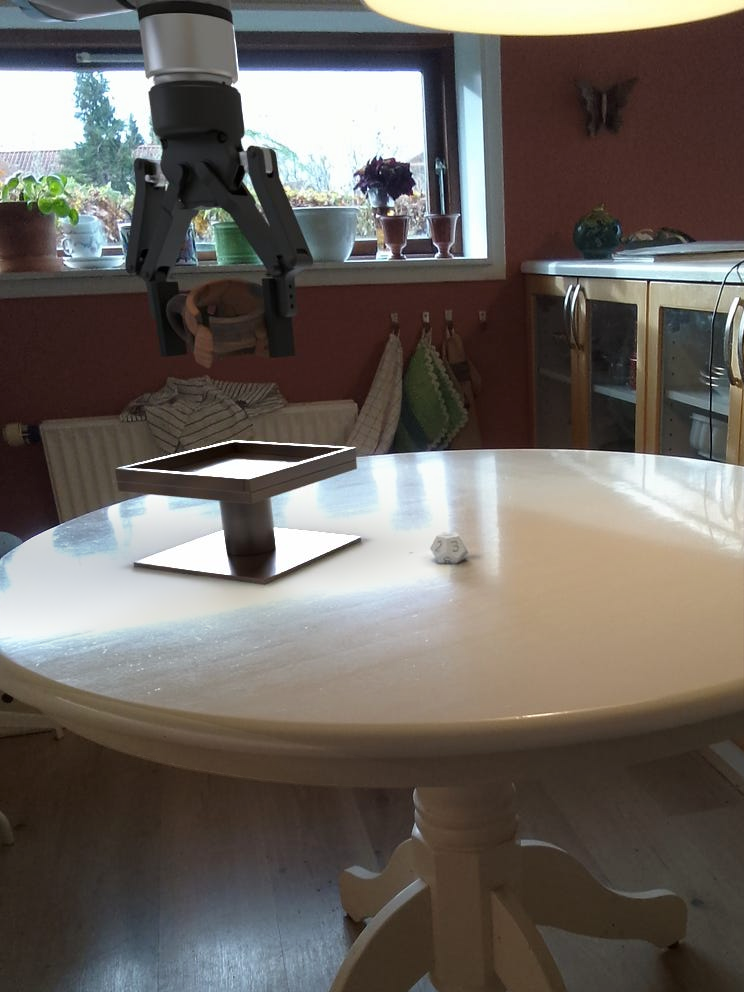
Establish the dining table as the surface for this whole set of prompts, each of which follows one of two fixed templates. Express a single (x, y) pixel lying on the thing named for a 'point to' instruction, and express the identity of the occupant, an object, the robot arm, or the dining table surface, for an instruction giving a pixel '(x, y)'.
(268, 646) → the dining table surface
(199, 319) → the pottery mug
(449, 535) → the game die
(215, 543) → the cup holder
